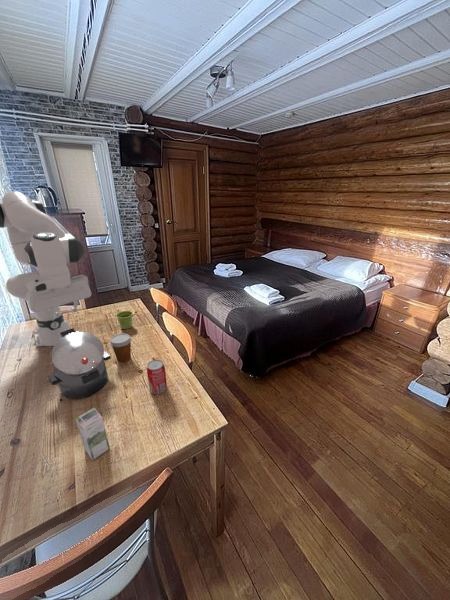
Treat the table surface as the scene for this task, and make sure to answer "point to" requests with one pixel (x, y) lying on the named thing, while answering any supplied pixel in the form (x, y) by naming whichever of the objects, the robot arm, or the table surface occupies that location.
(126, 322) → the plant pot
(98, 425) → the syrup box
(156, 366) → the soda can
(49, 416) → the table surface
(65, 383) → the cooker pot
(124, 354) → the disposable coffee cup
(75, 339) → the cooker lid
